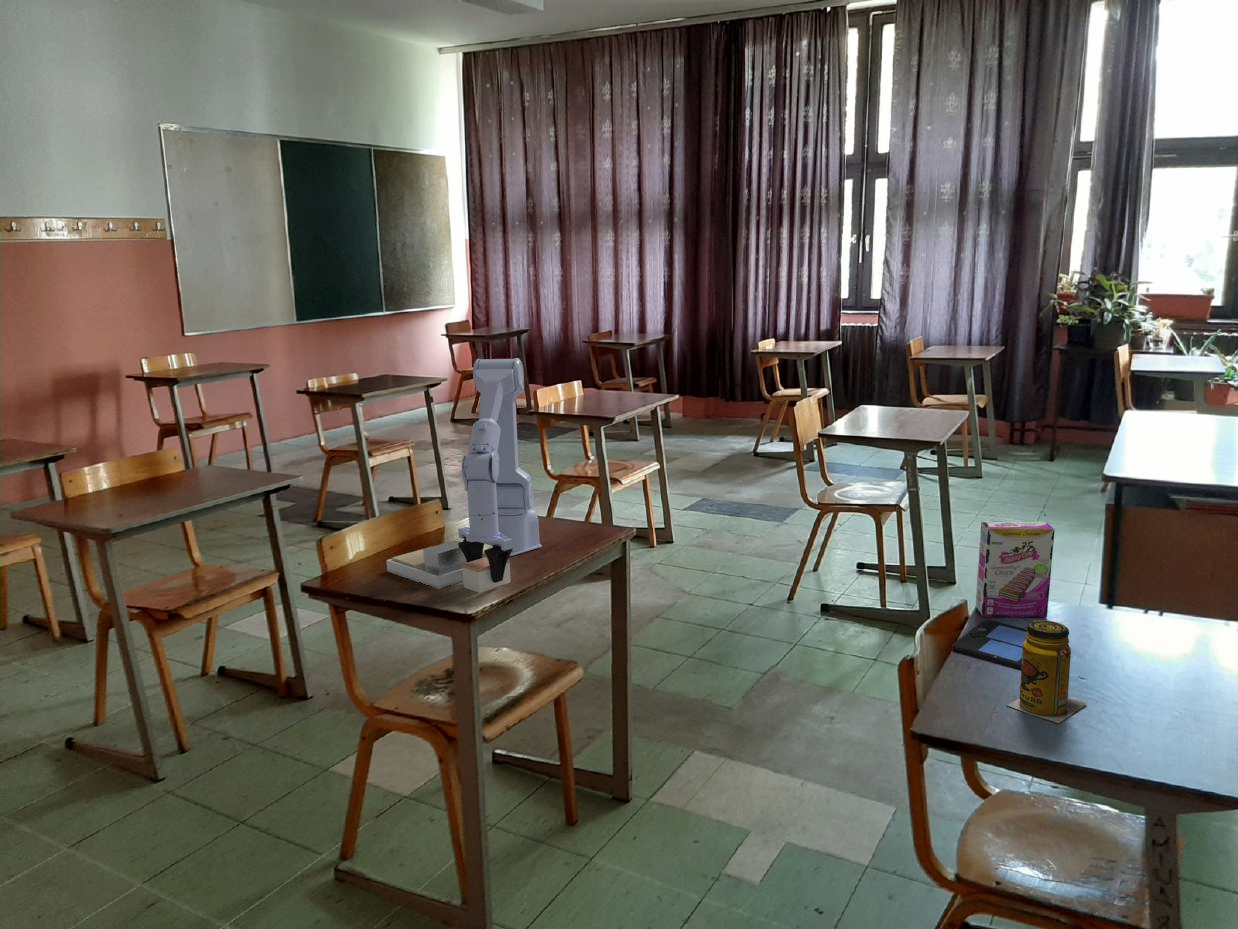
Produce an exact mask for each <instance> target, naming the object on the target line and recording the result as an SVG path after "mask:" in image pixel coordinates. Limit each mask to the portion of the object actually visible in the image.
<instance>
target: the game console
mask: <svg viewBox="0 0 1238 929" xmlns="http://www.w3.org/2000/svg"><path fill="white" fill-rule="evenodd" d="M1026 633H1027V628H1025V627H1024V628H1023V627H1020V626H1016V625H1011V624H1008V623H1005V622H1001V621H995V620H988V621H987V620H986V621H982V622H979V623H978V624H977V625H975V627H973V628H972V629H971V630H969V631H968V632H966V633H965V634H964V635H963V636H962V637H960V638H958V639H957V640H956V641H955V642H954V643H953V644H952V645H951V649H952V651H953V652H956V653H959V654H963V655H967V656H969V657H973V658H977V659H980V660H983V661H984V660H985V661H988V662H991V663H995V664H998V665H1001V666H1005V667H1008V668H1013V669H1015V670H1019V671H1021V667H1022V652H1023V650H1022V649H1023V643H1024V641H1026Z"/></svg>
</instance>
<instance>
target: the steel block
mask: <svg viewBox="0 0 1238 929" xmlns="http://www.w3.org/2000/svg"><path fill="white" fill-rule="evenodd" d="M459 542H460V541H458V540H451V541H448V542H445V543H440V544H438V545H437V544H436V545H433V547H432V546H429V547H426V549H425V548H422V549H423V553H424V567H425V572H427V573H430V574H433V575H436V576H440V575H443V574H447V573H450V572H453V571H457V570H460V569H463V567H462V564H465V563H467V561H466V558H465V556H464V554H463V552H462V551H461V549H460V548H459V546H458V543H459Z"/></svg>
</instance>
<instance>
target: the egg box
mask: <svg viewBox="0 0 1238 929" xmlns="http://www.w3.org/2000/svg"><path fill="white" fill-rule="evenodd" d="M462 567H463V582H462V583H463V588H465V589H467V590H470V591H474V592H476V593H478V594H479V593H483V592H486V591H489V590H492V589H495V588H498V587H501V586H504V585H507V584H510V583H511V581H512V580H511V560H510V558H508V560H507V563H506V567H505V571H504V576H503V581H500V582H497V583H493V581H492V578H491V570H490V565H489V561H488V558H487V556H485V557H482V558H481V559H478V560H475V561H471V562H468V563H465V564H462Z"/></svg>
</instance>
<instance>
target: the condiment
mask: <svg viewBox="0 0 1238 929" xmlns="http://www.w3.org/2000/svg"><path fill="white" fill-rule="evenodd" d="M1026 626H1027V627H1026V629H1027V633H1026V641H1024V643H1023V649H1022V650H1023V652H1022V667H1021V670H1020V671H1021V672H1020V684H1019V685H1020V686H1019V698H1017V699H1016V700H1014V701H1012V702H1010V703H1009V704H1006V706H1008V707H1011V708H1014V709H1015V710H1019V711H1020V712H1023V713H1026V714H1028V715H1031V716H1034V717H1038V718H1041V719H1044V720H1048V721H1051V722H1054V723H1057V724H1059V723H1061V722H1063V721H1065V720H1067V719H1068V718H1069V717H1070V716H1072V715H1073V714H1075V713H1076V712H1077V711H1079V710H1081V709H1082V708H1083V707H1084V706H1086V705H1087V704H1088V702H1085V701H1080V700H1075V699H1072V698H1069V684H1070V673H1071V672H1070V671H1071V669H1070V668H1071V660H1072V659H1071V658H1072V656H1071V655H1072V648H1071V647H1070V645H1069V643H1070V639H1069V636H1070V631H1069V630H1070V629H1069V628H1068V627H1067V626H1066V625H1064V624H1062V623H1059V622H1057V621H1052V620H1043V619H1042V620H1032V621H1030V622H1029V623H1027V625H1026Z"/></svg>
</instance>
